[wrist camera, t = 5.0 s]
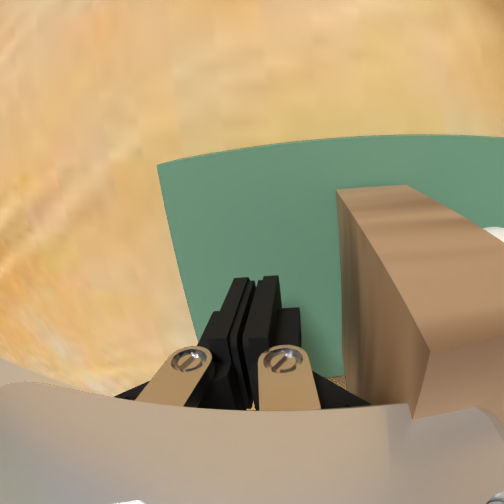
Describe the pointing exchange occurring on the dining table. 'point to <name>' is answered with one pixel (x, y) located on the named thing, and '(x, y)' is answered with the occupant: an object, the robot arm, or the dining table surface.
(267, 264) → the putting mat
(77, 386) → the dining table surface
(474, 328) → the upright wooden plank
